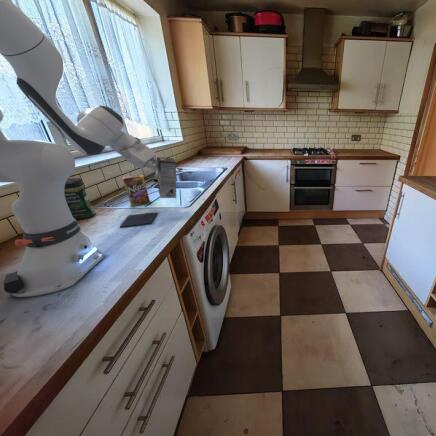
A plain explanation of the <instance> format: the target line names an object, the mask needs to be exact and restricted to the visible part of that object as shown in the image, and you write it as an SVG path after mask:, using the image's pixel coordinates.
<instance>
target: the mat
mask: <svg viewBox="0 0 436 436" xmlns="http://www.w3.org/2000/svg"><path fill="white" fill-rule="evenodd" d="M157 214H158V212H145V213H138V214H137V213H136V214H128V215H127V217H126V219H125V220H124V221H122V224H121V225H120V226H119V227H120V228H129V227H138V226H147V225H152V223H154V220H155V218H156V217H157Z"/></svg>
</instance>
